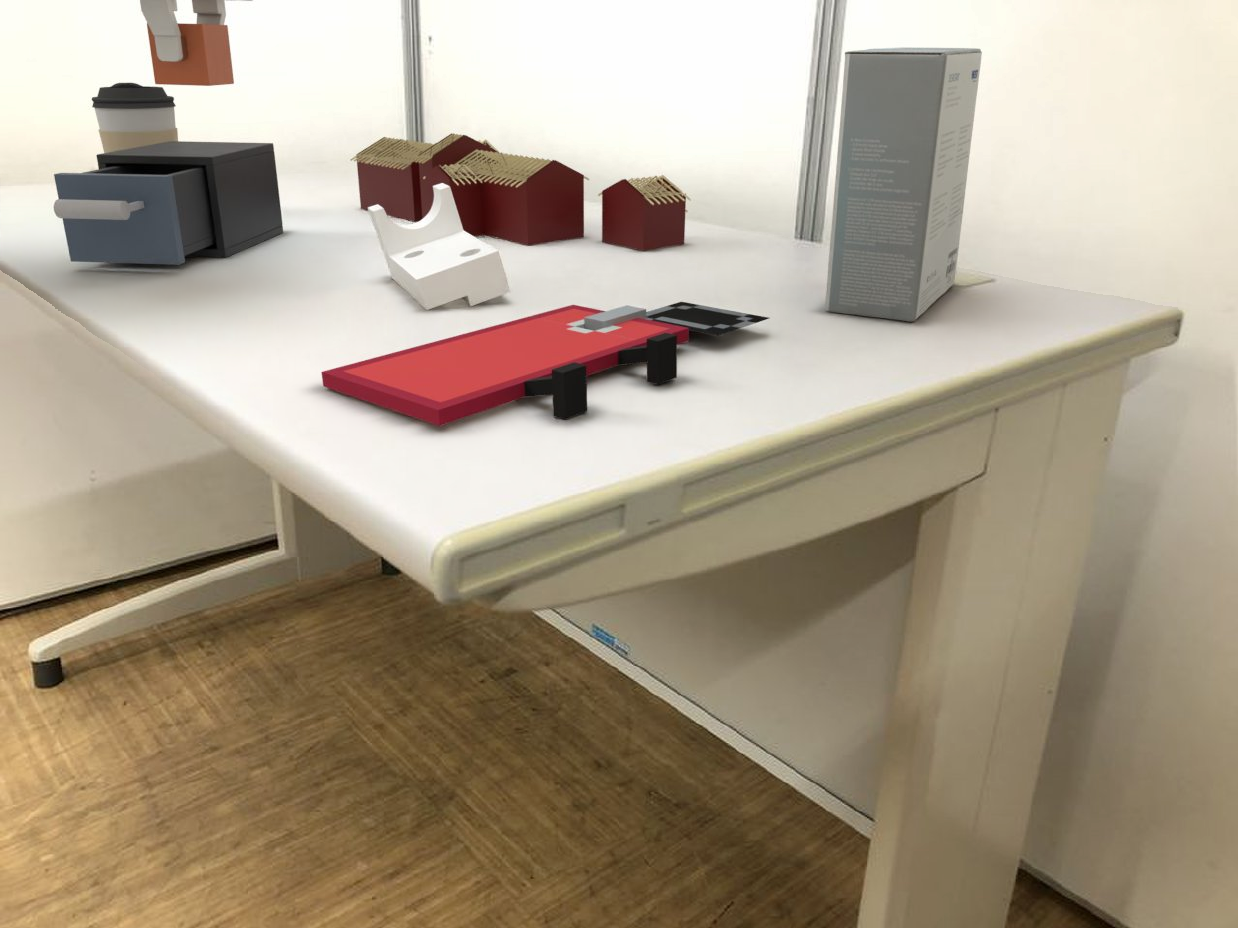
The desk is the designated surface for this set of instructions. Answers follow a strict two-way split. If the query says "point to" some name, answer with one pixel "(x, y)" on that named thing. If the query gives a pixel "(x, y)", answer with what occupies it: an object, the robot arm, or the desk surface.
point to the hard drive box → (900, 178)
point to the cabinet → (223, 187)
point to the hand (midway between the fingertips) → (191, 61)
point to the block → (197, 57)
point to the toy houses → (515, 194)
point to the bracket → (439, 256)
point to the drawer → (136, 213)
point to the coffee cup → (134, 116)
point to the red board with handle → (530, 360)
